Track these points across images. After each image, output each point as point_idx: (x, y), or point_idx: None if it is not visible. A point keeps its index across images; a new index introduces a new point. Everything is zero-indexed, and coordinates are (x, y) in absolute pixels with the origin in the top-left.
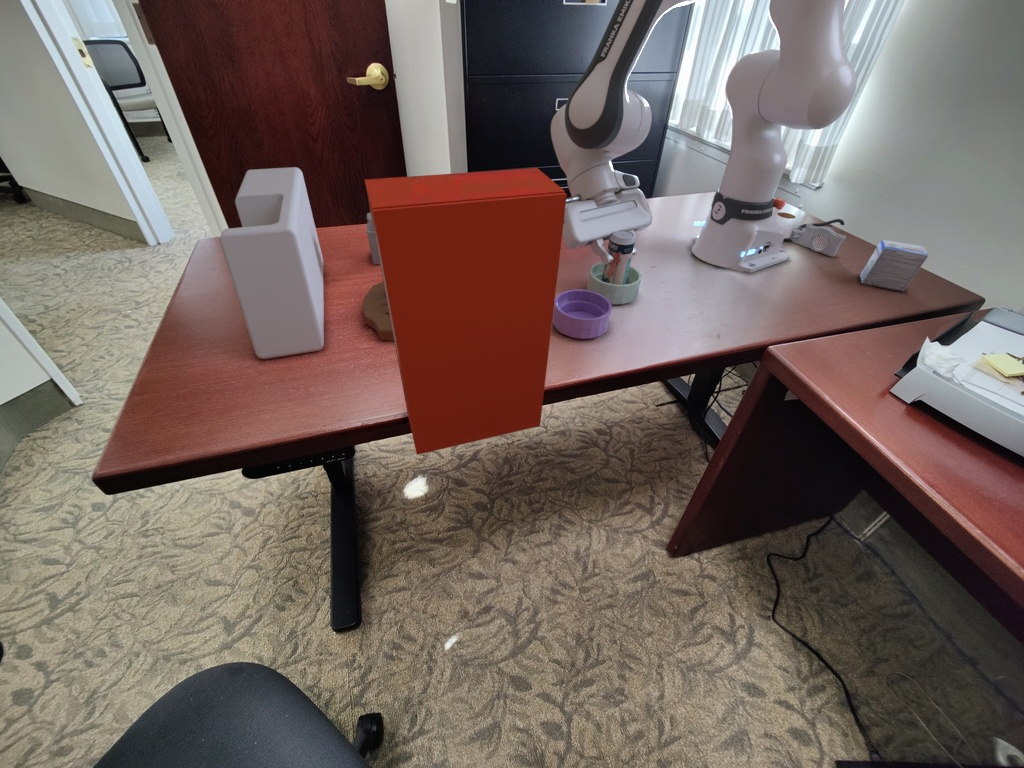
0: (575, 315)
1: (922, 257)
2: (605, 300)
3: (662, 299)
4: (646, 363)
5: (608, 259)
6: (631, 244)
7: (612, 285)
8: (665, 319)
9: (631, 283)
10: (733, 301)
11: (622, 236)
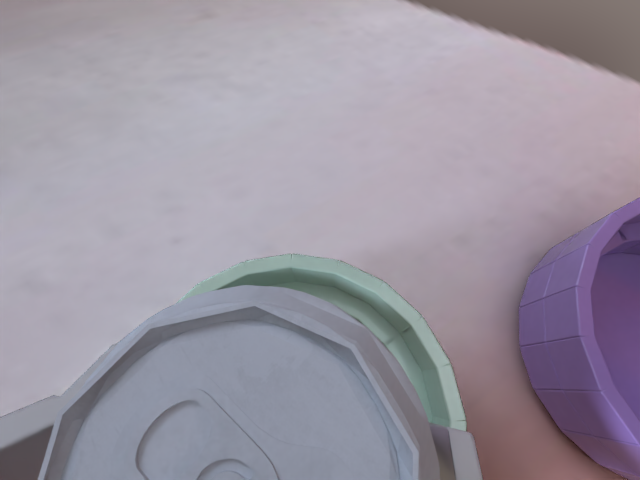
0: (628, 400)
1: None
2: (593, 273)
3: (182, 212)
4: (581, 67)
5: (473, 441)
6: (289, 291)
7: (436, 339)
8: (315, 137)
9: None
10: (28, 41)
11: (303, 462)
